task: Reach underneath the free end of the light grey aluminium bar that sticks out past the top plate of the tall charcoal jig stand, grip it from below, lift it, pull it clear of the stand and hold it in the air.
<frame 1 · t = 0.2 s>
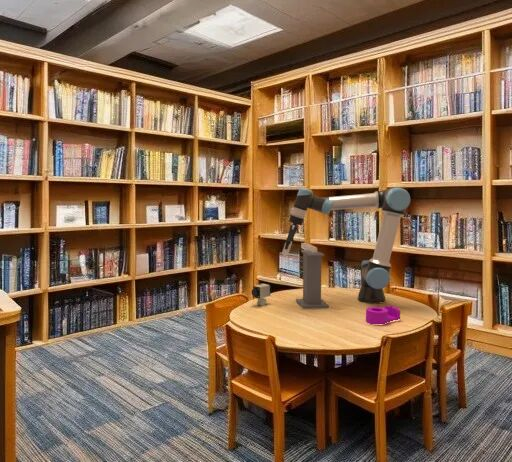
hand: (285, 253, 227), 28 cm above the table, tool tilted 20°, fingers open, 13 cm apart
grey camera: (261, 305, 228), on the table
tape dispenser: (381, 322, 198), on the table
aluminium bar: (308, 250, 233), point 29 cm above the table, touching jig stand
jig stand: (311, 304, 229), on the table
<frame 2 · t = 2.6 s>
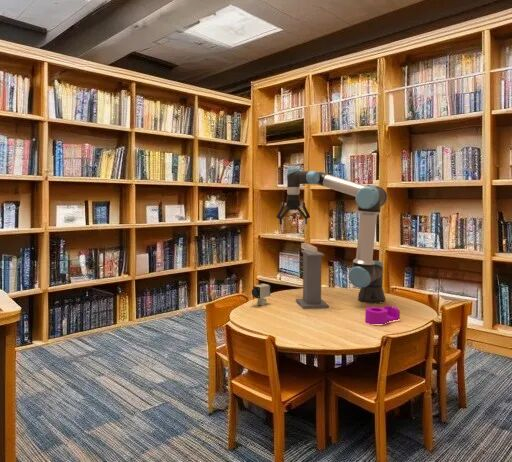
hand: (293, 229, 249), 39 cm above the table, tool pointing down, fingers open, 13 cm apart
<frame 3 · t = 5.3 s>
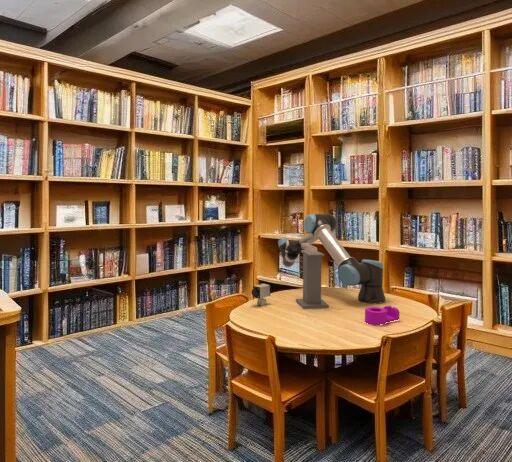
hand: (298, 242, 255), 31 cm above the table, tool pointing upward, fingers open, 13 cm apart
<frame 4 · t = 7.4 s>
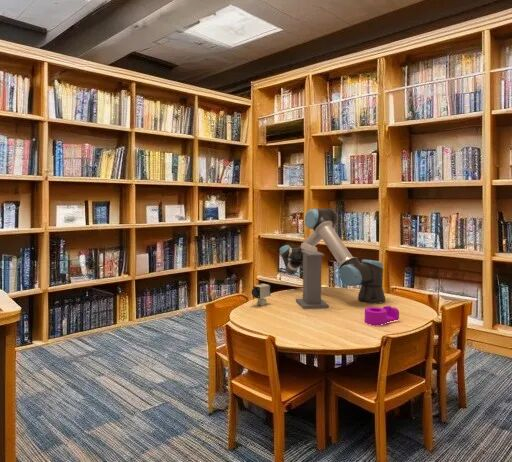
hand: (302, 249, 246), 28 cm above the table, tool pointing upward, fingers open, 13 cm apart
nothing on the table moved.
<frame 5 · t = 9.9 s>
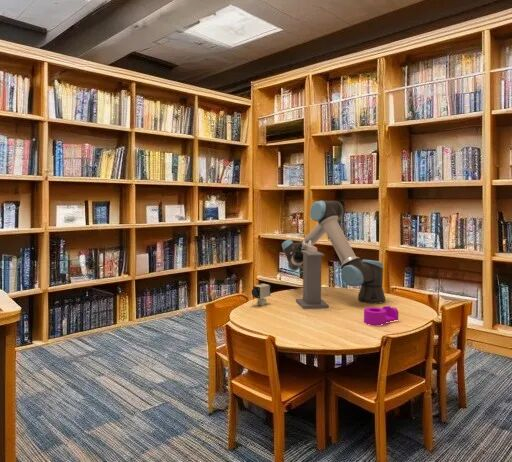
hand: (307, 242, 236), 33 cm above the table, tool pointing upward, fingers closed on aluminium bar, 3 cm apart
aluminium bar: (308, 250, 233), point 29 cm above the table, touching gripper, jig stand
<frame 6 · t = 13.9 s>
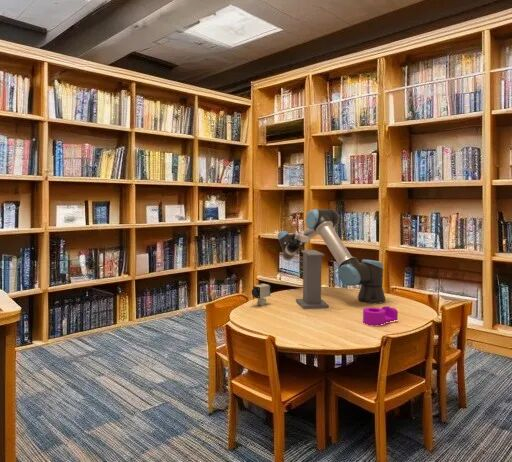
hand: (299, 232, 251), 37 cm above the table, tool pointing upward, fingers closed on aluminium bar, 3 cm apart
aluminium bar: (301, 240, 248), point 33 cm above the table, touching gripper
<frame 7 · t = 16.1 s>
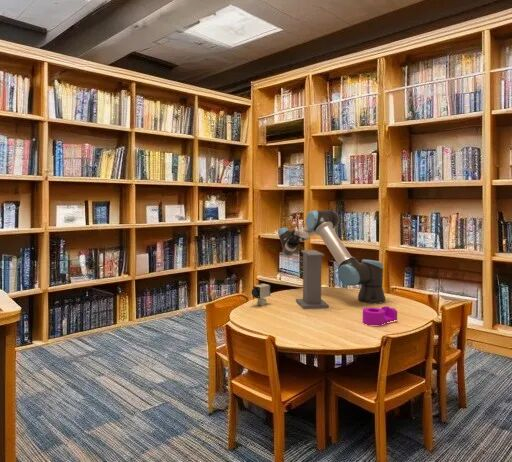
hand: (299, 228, 253), 40 cm above the table, tool pointing upward, fingers closed on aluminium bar, 3 cm apart
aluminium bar: (300, 236, 250), point 35 cm above the table, touching gripper
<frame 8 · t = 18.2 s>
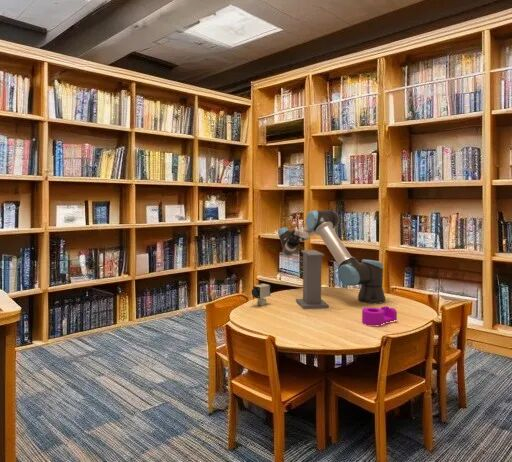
hand: (299, 228, 253), 40 cm above the table, tool pointing upward, fingers closed on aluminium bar, 3 cm apart
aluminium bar: (300, 236, 250), point 35 cm above the table, touching gripper
at the end: the gripper is holding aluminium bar; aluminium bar touching gripper; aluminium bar moved 19.1 cm from its start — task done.
